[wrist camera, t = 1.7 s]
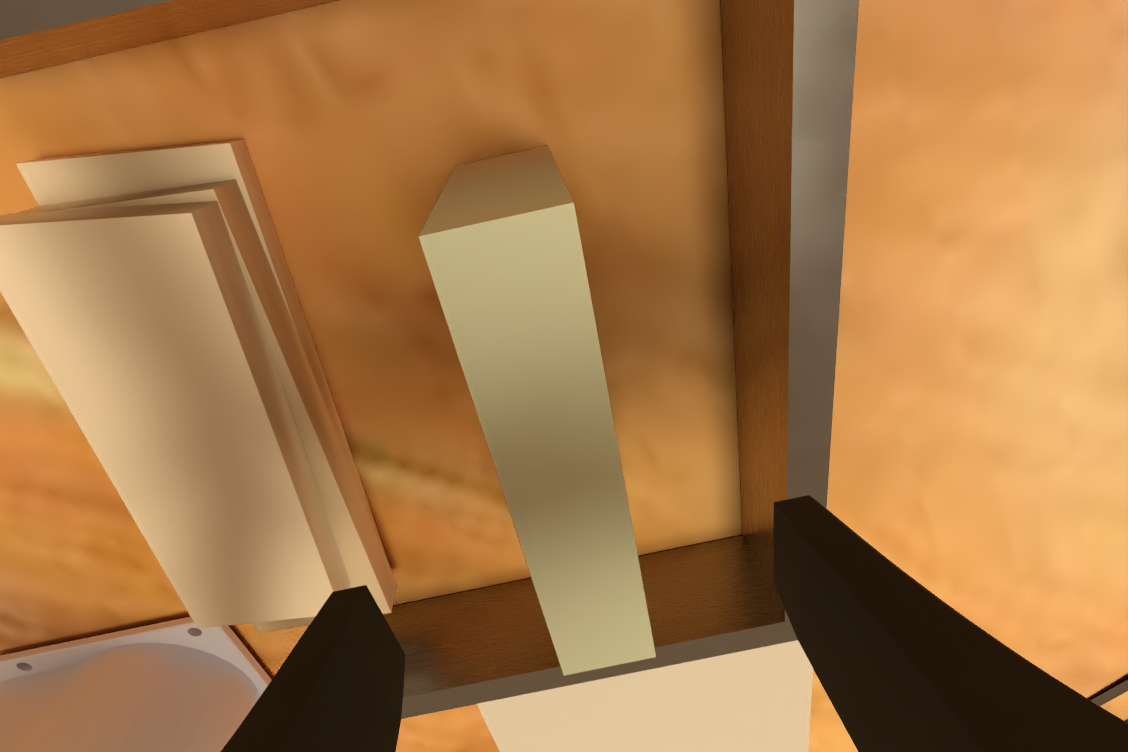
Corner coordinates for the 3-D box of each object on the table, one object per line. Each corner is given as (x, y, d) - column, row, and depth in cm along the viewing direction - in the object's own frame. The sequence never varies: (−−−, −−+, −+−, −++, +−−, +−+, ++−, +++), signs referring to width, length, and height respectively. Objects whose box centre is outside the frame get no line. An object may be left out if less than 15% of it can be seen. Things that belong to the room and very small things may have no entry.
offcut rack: (348, 635, 23) (320, 734, 20) (-41, 18, 12) (-257, 1, 9) (771, 549, 23) (818, 636, 20) (768, -170, 12) (876, -266, 8)
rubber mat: (549, 844, 35) (550, 854, 34) (459, 655, 25) (458, 666, 24) (801, 796, 34) (804, 805, 34) (812, 585, 24) (817, 594, 24)
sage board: (547, 496, 21) (564, 675, 15) (455, 165, 15) (418, 236, 9) (612, 482, 21) (656, 657, 15) (547, 144, 15) (573, 202, 9)
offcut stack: (263, 581, 22) (222, 667, 19) (42, 157, 14) (-90, 183, 11) (403, 564, 22) (385, 646, 19) (264, 136, 14) (195, 155, 11)
